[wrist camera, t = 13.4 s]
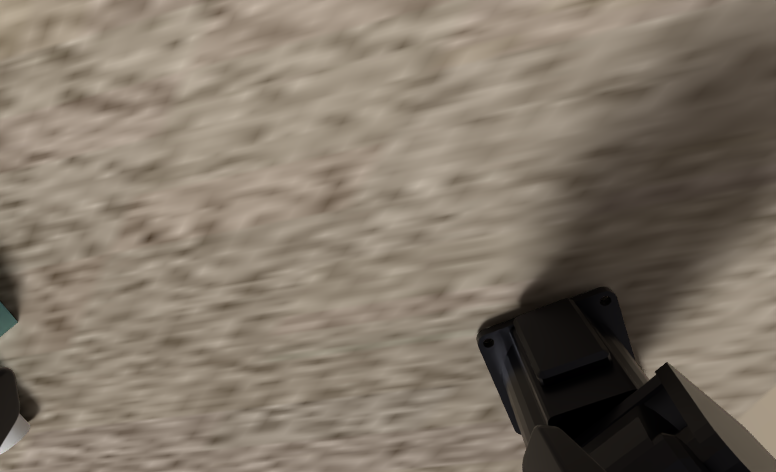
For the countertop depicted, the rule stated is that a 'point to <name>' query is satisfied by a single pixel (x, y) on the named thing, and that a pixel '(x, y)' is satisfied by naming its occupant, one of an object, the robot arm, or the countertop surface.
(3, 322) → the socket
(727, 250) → the countertop surface
